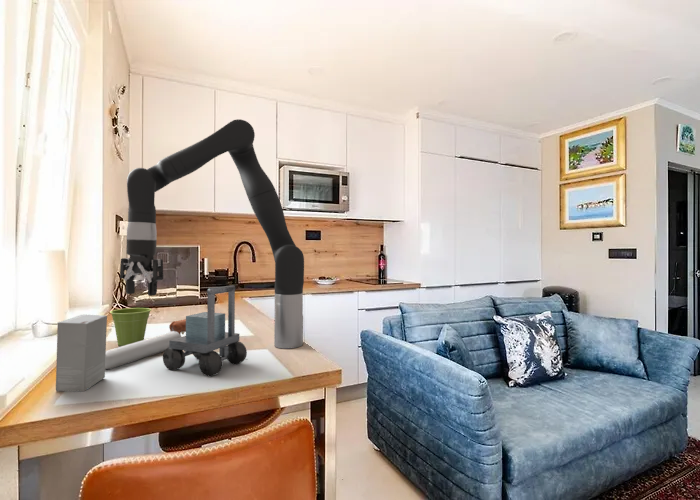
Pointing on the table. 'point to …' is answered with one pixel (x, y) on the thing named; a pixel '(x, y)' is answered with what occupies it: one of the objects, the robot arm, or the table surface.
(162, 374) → the table surface
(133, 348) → the tube
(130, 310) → the plant pot
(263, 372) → the table surface
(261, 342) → the table surface
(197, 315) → the trolley
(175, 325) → the bull figurine
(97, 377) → the skincare box
